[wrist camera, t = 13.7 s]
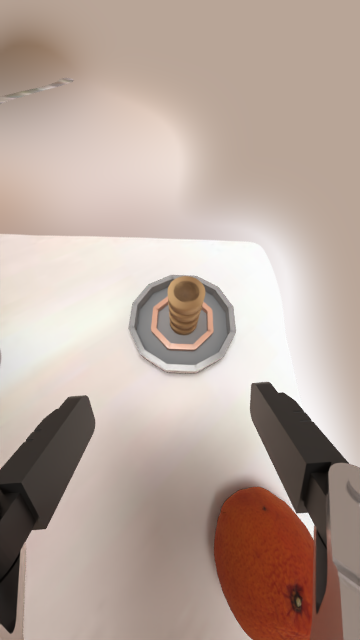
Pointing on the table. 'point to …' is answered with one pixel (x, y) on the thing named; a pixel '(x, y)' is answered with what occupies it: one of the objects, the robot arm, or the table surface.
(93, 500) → the table surface
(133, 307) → the round tray
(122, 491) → the table surface
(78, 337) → the table surface
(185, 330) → the bead stack
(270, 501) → the fruit
